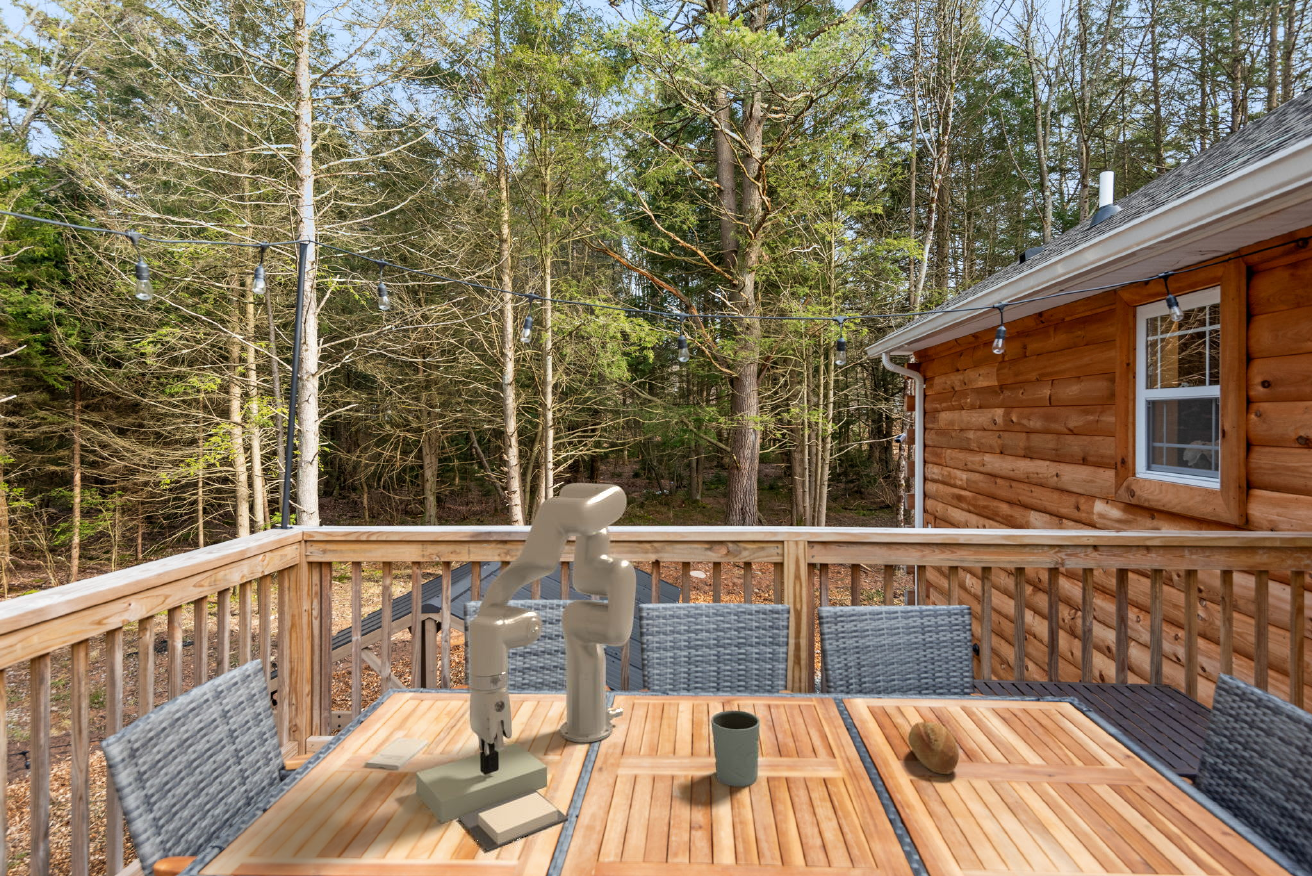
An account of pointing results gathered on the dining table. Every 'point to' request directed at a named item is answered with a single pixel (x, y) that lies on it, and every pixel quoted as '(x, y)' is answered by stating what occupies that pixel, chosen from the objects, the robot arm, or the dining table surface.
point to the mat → (484, 839)
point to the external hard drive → (397, 753)
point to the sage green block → (479, 782)
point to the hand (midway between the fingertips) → (489, 771)
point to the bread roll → (934, 747)
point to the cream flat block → (517, 817)
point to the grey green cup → (736, 747)
